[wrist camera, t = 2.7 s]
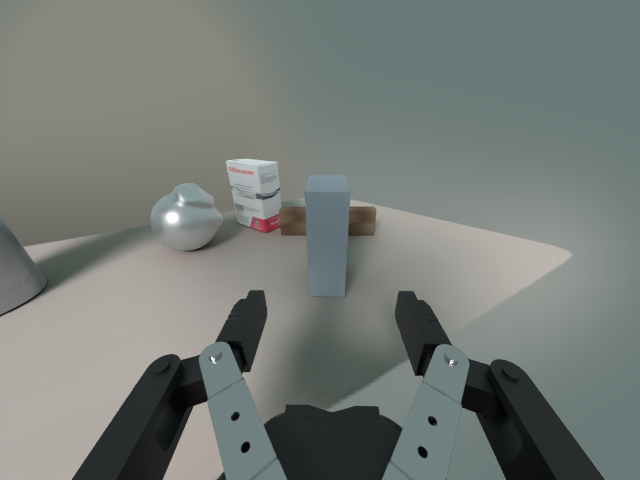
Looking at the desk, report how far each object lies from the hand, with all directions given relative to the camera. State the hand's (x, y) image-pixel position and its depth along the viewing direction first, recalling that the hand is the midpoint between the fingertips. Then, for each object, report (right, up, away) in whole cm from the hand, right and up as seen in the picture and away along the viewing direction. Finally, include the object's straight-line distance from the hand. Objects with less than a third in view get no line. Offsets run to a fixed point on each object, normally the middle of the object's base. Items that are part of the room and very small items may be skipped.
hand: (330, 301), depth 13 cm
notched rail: (+1, +5, +27) cm, 27 cm away
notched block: (0, -1, +15) cm, 15 cm away
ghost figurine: (-20, +3, +23) cm, 31 cm away
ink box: (-12, +7, +31) cm, 34 cm away
